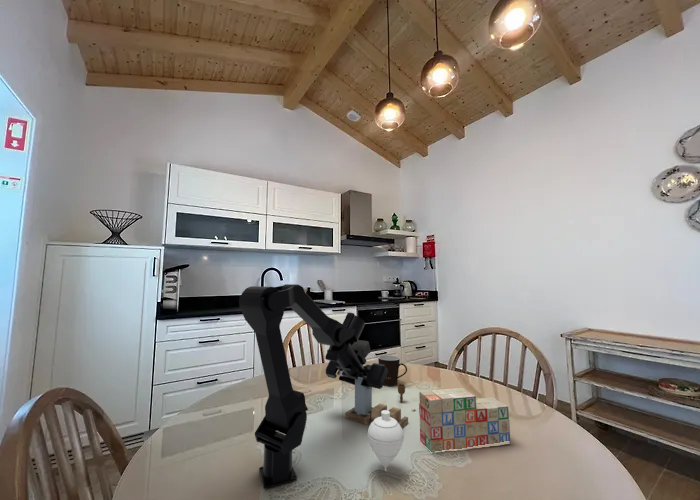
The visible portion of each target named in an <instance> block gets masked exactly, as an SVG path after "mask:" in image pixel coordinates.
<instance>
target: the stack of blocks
mask: <svg viewBox="0 0 700 500" xmlns="http://www.w3.org/2000/svg"><path fill="white" fill-rule="evenodd" d="M418 395H419V404H418V406H419V408H418V410H419V411H418V412H419V441H420V442H421V443H422V445H423V446H424V445H425V446H426V447H427V448H428V449H429V450H430V451H431V452H435V451H442V450H449V449H462V448H467V447H473V446H478V445H485V444H494V443H500V442H504V441H510V442H511V426H510V424H511V423H510V422H511V421H510V414H509V412H510V411H509V406H508V405H507V404H505V403H503V402H501V401H499V400H497V399H496V398H494V397H481V398H479V397H478V398H477V397H476V395H475V394H473V393H471V392H469V391H467V390H466V389H464V388H463V387H457V388H456V387H455V388H445V389H444V388H443V389H434V390H433V389H431V390H419V393H418ZM425 446H424V447H425ZM426 447H425V448H426ZM427 448H426V449H427ZM428 449H427V450H428ZM429 450H428V451H429Z"/></svg>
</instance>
